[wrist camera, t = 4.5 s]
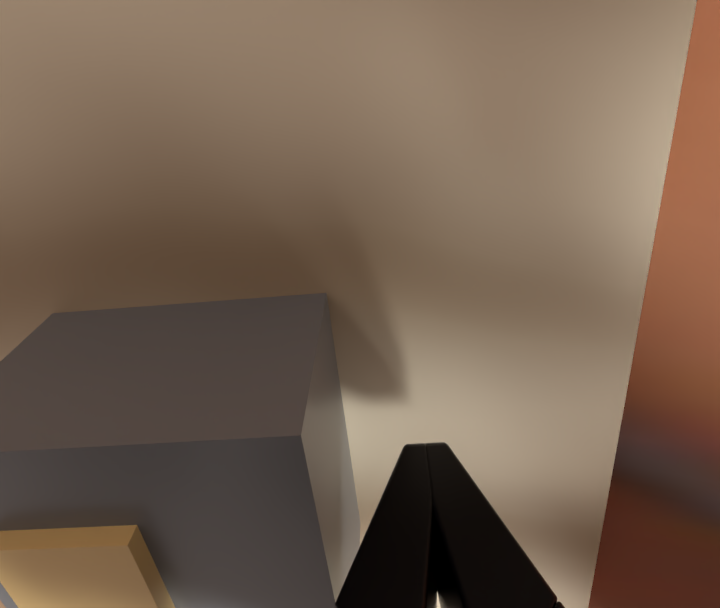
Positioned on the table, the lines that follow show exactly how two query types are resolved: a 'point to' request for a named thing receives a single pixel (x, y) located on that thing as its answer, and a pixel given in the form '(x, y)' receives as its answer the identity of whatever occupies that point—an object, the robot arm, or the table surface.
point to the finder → (177, 459)
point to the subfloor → (368, 209)
